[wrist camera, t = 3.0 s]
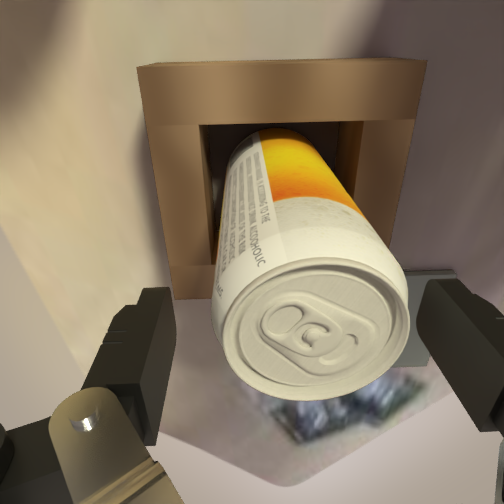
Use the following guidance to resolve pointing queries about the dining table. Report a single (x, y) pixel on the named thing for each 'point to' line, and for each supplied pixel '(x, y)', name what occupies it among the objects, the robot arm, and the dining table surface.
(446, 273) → the mat
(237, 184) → the beer can
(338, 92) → the pocket block
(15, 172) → the dining table surface
